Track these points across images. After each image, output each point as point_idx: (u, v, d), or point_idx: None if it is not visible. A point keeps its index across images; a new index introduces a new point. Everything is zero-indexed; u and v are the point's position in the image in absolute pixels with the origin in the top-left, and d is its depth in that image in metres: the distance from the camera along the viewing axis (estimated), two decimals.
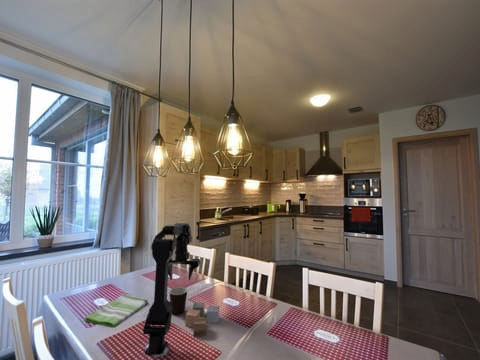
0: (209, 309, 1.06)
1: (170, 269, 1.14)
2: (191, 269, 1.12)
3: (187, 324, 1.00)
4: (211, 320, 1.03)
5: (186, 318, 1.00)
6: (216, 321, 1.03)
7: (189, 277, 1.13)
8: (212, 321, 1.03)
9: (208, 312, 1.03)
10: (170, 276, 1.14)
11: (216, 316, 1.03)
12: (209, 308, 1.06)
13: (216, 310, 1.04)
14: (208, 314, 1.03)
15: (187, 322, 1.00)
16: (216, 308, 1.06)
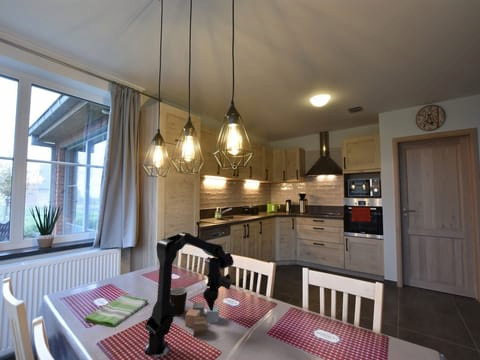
0: (209, 309, 1.06)
1: None
2: None
3: (187, 324, 1.00)
4: (211, 320, 1.03)
5: (186, 318, 1.00)
6: (216, 321, 1.03)
7: (209, 306, 1.01)
8: (212, 321, 1.03)
9: (208, 312, 1.03)
10: None
11: (216, 316, 1.03)
12: None
13: (216, 310, 1.04)
14: (208, 314, 1.03)
15: (187, 322, 1.00)
16: (216, 308, 1.06)
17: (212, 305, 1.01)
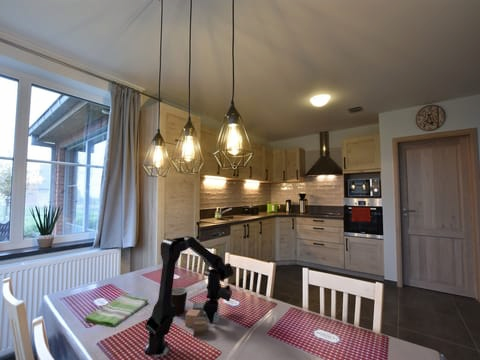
0: None
1: None
2: None
3: (187, 324, 1.00)
4: None
5: (186, 318, 1.00)
6: (216, 321, 1.03)
7: None
8: None
9: None
10: None
11: (216, 316, 1.03)
12: None
13: None
14: None
15: (187, 322, 1.00)
16: None
17: (212, 317, 1.00)
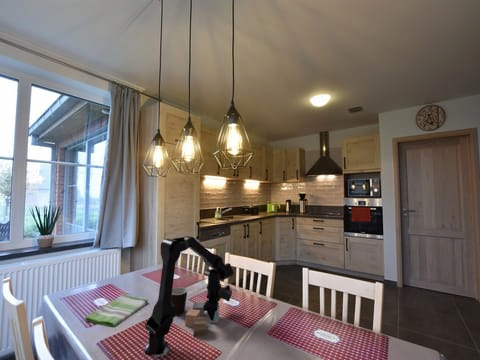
0: None
1: None
2: None
3: (187, 324, 1.00)
4: None
5: (186, 318, 1.00)
6: (216, 321, 1.03)
7: (209, 316, 1.03)
8: (212, 321, 1.03)
9: None
10: None
11: (216, 316, 1.03)
12: None
13: None
14: None
15: (187, 322, 1.00)
16: None
17: (213, 315, 1.02)
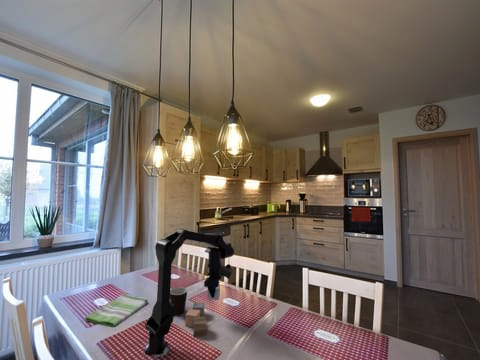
0: None
1: None
2: None
3: (187, 324, 1.00)
4: None
5: (186, 318, 1.00)
6: (217, 298, 1.04)
7: (210, 293, 1.04)
8: (213, 298, 1.04)
9: None
10: None
11: (217, 293, 1.04)
12: None
13: (217, 287, 1.05)
14: None
15: (187, 322, 1.00)
16: None
17: (213, 292, 1.03)
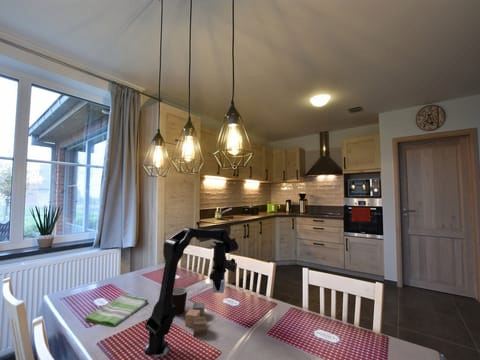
0: None
1: None
2: None
3: (187, 324, 1.00)
4: None
5: (186, 318, 1.00)
6: (222, 291, 1.07)
7: (215, 286, 1.07)
8: (218, 291, 1.07)
9: None
10: None
11: (222, 286, 1.07)
12: None
13: (222, 281, 1.08)
14: None
15: (187, 322, 1.00)
16: None
17: (219, 285, 1.06)
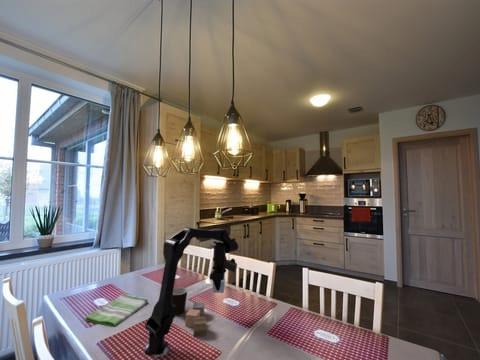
0: None
1: None
2: None
3: (187, 324, 1.00)
4: None
5: (186, 318, 1.00)
6: (222, 291, 1.07)
7: (215, 286, 1.07)
8: (218, 291, 1.07)
9: None
10: None
11: (222, 286, 1.07)
12: None
13: (222, 281, 1.08)
14: None
15: (187, 322, 1.00)
16: None
17: (219, 285, 1.06)
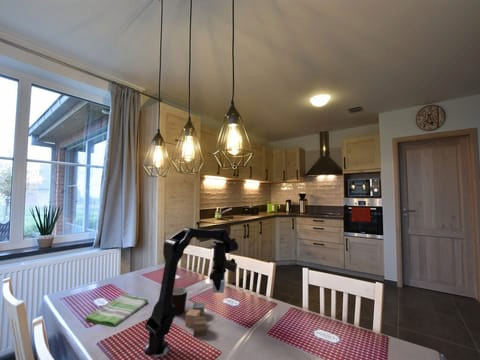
0: None
1: None
2: None
3: (187, 324, 1.00)
4: None
5: (186, 318, 1.00)
6: (222, 291, 1.07)
7: (215, 286, 1.07)
8: (218, 291, 1.07)
9: None
10: None
11: (222, 286, 1.07)
12: None
13: (222, 281, 1.08)
14: None
15: (187, 322, 1.00)
16: None
17: (219, 285, 1.06)
